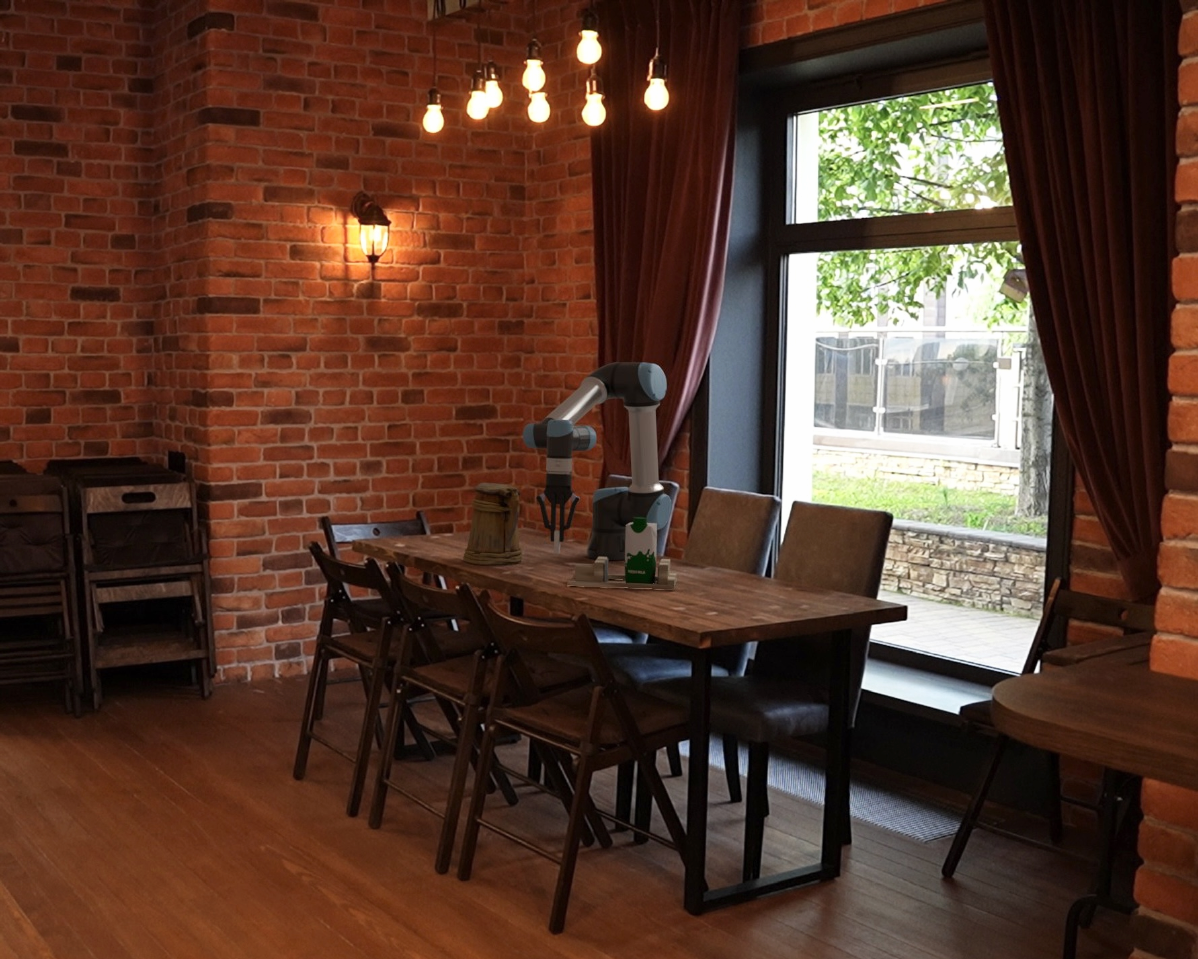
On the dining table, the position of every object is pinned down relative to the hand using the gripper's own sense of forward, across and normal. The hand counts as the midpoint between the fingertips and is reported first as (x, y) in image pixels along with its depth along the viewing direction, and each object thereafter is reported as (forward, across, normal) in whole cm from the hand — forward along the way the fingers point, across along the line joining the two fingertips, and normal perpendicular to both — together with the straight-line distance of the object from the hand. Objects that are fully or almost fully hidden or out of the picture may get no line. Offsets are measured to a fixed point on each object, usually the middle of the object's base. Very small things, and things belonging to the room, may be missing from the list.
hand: (556, 552), depth 400 cm
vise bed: (+9, +20, 0) cm, 21 cm away
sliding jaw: (+8, +10, 0) cm, 13 cm away
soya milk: (+9, +25, 0) cm, 26 cm away
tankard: (+9, -23, +32) cm, 41 cm away
